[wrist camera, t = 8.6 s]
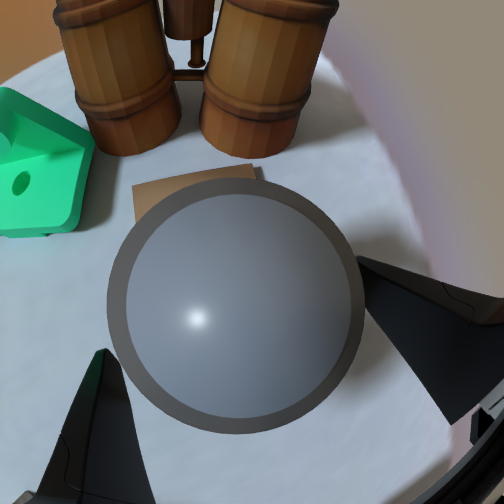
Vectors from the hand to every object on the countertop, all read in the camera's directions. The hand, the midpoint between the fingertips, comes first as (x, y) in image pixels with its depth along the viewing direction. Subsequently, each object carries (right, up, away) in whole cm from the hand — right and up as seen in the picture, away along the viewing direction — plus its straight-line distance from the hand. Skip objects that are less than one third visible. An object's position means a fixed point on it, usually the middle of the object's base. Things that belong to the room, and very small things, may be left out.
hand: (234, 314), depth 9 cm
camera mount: (-18, +7, +9) cm, 21 cm away
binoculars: (-5, +14, +12) cm, 19 cm away
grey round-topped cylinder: (-1, -1, +8) cm, 8 cm away
